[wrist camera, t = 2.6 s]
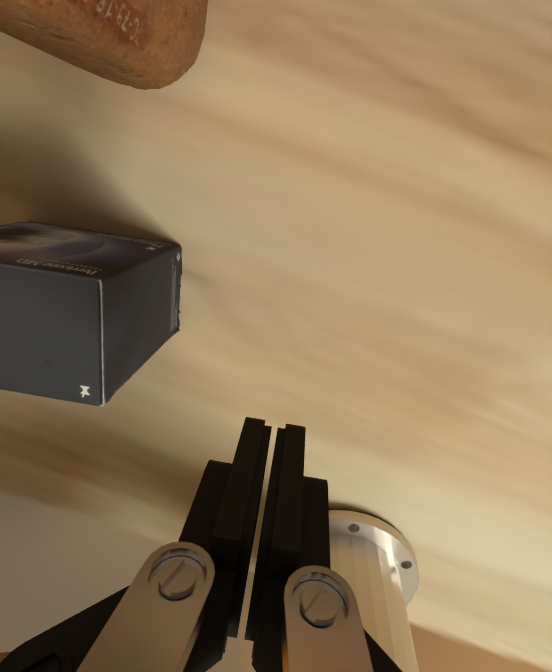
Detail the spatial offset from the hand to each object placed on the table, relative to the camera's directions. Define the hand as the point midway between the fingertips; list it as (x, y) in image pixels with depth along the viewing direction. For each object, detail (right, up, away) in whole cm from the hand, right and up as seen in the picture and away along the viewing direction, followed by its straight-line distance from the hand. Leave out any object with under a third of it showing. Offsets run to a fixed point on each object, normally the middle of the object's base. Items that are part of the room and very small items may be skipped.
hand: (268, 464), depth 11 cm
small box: (-11, +8, +16) cm, 21 cm away
